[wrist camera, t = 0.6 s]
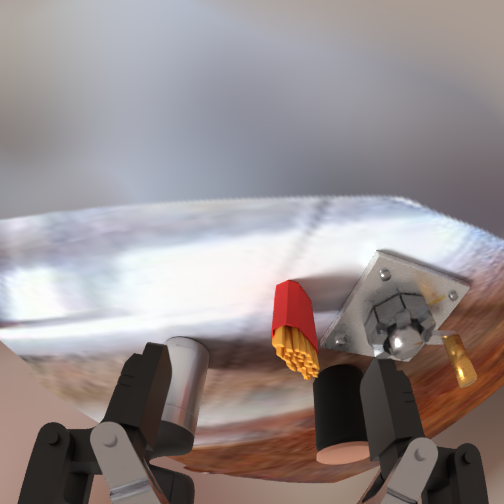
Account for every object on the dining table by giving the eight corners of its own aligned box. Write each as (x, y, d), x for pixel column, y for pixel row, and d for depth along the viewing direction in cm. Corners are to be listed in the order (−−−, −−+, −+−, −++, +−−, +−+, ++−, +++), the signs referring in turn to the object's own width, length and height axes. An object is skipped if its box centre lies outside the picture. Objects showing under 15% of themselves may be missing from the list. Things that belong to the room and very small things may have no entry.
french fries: (266, 284, 46) (263, 353, 35) (292, 272, 44) (295, 342, 34) (296, 321, 50) (298, 388, 39) (319, 311, 48) (327, 378, 38)
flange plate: (406, 356, 54) (416, 388, 48) (319, 340, 52) (323, 377, 46) (466, 282, 44) (486, 313, 37) (376, 250, 41) (392, 286, 35)
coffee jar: (338, 394, 63) (345, 466, 48) (302, 382, 60) (304, 460, 45) (373, 371, 57) (387, 448, 42) (337, 356, 55) (347, 442, 40)
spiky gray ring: (357, 341, 50) (370, 407, 39) (381, 292, 43) (404, 362, 32) (436, 343, 50) (456, 400, 39) (464, 300, 43) (495, 358, 32)
